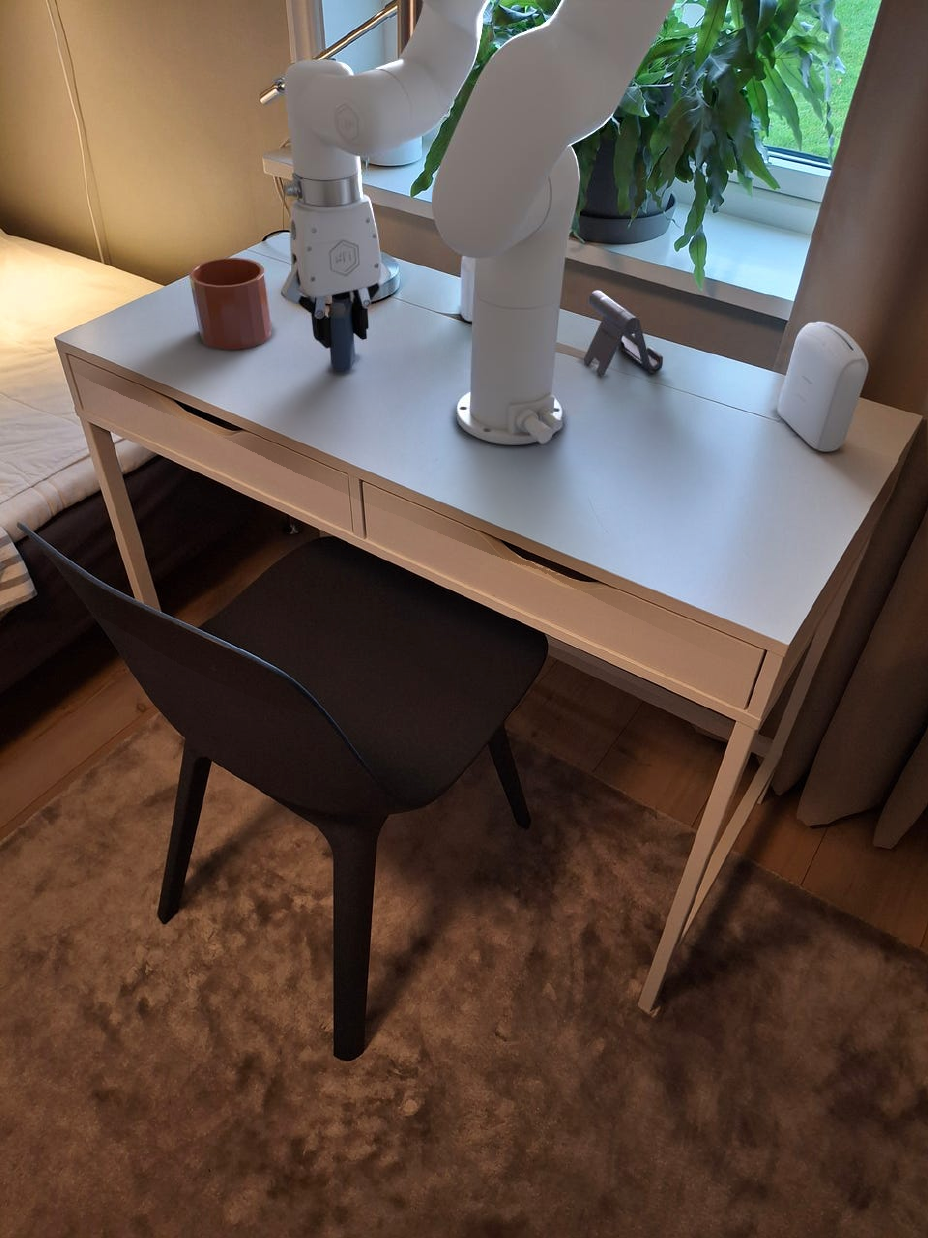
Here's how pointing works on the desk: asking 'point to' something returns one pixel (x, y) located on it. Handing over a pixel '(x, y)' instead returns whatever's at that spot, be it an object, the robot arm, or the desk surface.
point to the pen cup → (231, 303)
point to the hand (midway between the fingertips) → (341, 338)
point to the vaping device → (341, 331)
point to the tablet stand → (618, 336)
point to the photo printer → (823, 385)
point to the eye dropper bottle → (467, 287)
